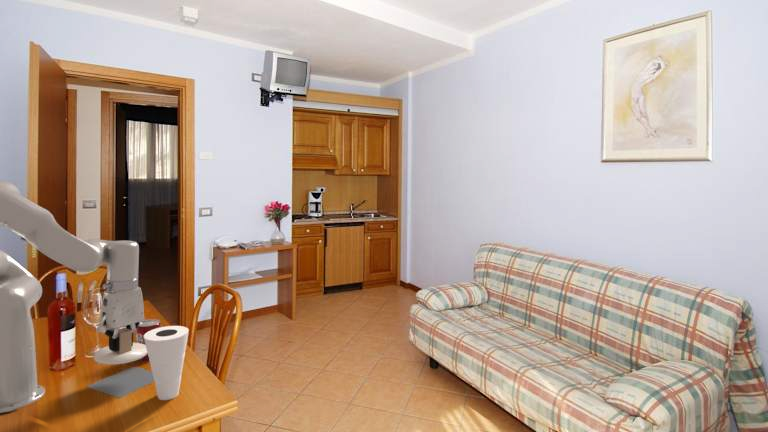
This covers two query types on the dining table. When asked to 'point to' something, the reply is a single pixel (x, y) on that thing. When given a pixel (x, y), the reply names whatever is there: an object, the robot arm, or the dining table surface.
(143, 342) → the soda can
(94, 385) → the mat
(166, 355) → the cup
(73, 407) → the dining table surface
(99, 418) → the dining table surface
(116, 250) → the robot arm
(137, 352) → the lid
